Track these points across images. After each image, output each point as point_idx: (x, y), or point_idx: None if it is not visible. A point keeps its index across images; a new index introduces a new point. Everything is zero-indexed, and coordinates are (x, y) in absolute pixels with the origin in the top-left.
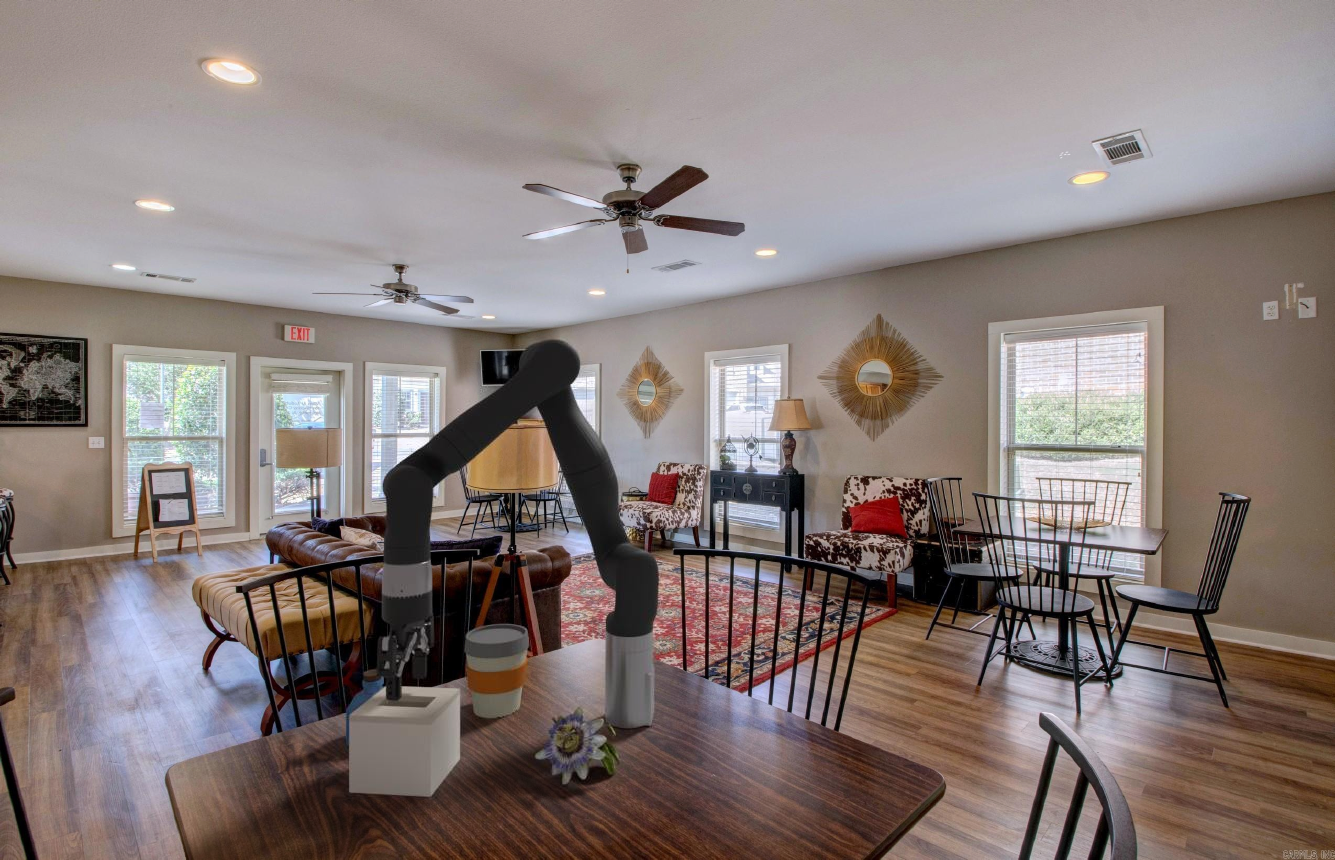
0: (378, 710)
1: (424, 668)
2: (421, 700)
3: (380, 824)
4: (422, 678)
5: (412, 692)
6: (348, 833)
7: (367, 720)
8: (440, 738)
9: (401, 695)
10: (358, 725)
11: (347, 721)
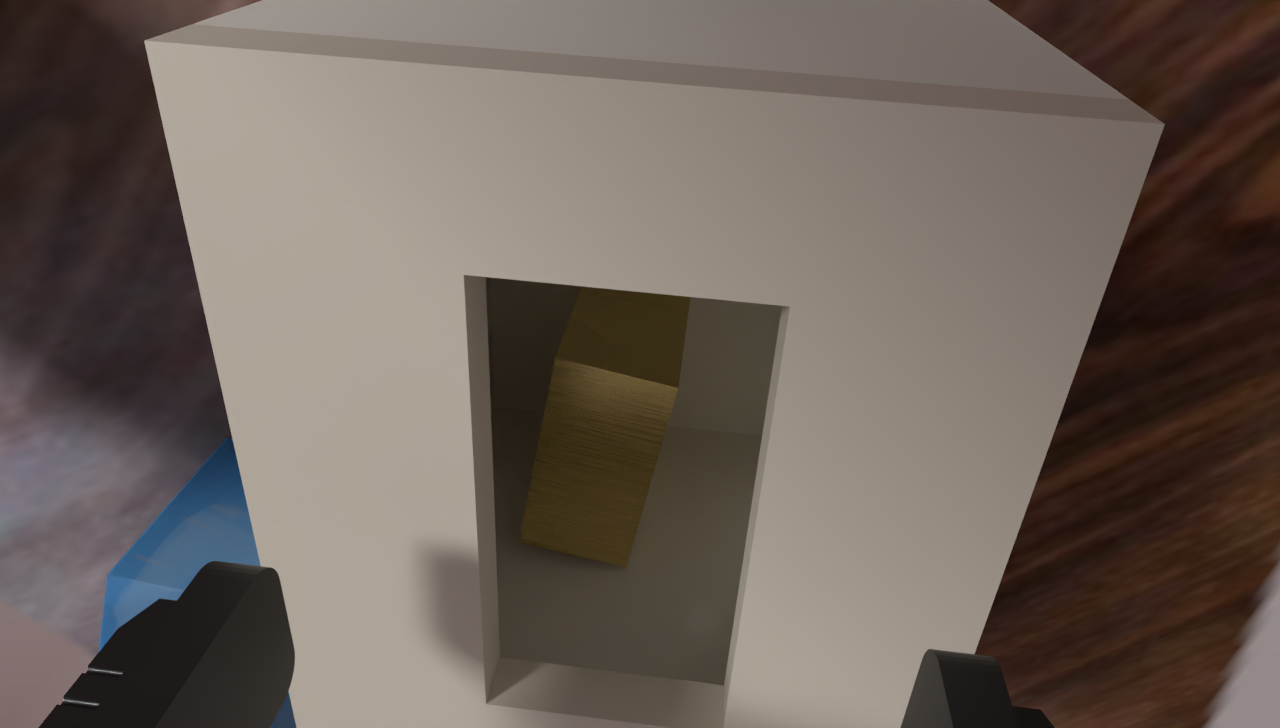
0: (832, 700)
1: (195, 670)
2: (484, 416)
3: (1208, 179)
4: (277, 579)
5: (397, 551)
6: (1250, 314)
7: None
8: (810, 17)
9: (943, 669)
10: None
11: None
